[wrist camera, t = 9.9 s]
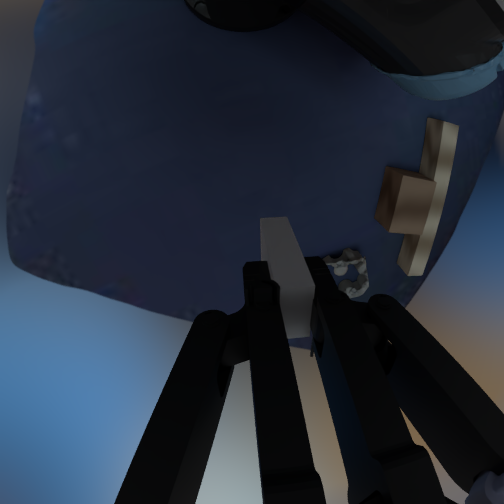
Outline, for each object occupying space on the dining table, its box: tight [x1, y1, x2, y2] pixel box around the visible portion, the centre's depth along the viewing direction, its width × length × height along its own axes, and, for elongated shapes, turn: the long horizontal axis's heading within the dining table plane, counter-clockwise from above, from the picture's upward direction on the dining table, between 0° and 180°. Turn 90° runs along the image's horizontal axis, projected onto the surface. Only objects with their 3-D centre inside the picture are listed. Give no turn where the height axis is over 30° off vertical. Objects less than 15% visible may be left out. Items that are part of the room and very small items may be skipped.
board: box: [397, 118, 459, 276], centre depth 39 cm, size 24×3×4 cm, turn 177°
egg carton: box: [323, 248, 369, 298], centre depth 45 cm, size 11×8×4 cm
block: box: [374, 166, 437, 235], centre depth 39 cm, size 8×6×5 cm
